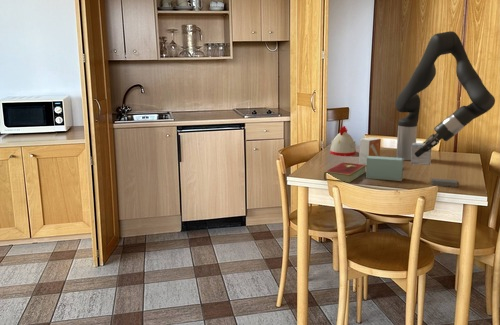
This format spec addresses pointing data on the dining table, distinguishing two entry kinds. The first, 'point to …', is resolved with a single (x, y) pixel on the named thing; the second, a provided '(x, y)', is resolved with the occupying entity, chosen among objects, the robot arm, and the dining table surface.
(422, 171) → the dining table surface
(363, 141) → the small box
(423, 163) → the grey upright block
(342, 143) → the cream red beanie hat
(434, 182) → the rubber mat
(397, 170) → the block
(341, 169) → the hardcover book
